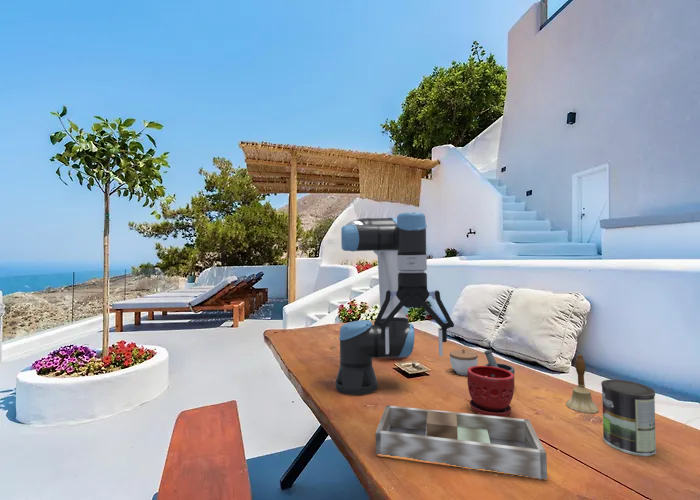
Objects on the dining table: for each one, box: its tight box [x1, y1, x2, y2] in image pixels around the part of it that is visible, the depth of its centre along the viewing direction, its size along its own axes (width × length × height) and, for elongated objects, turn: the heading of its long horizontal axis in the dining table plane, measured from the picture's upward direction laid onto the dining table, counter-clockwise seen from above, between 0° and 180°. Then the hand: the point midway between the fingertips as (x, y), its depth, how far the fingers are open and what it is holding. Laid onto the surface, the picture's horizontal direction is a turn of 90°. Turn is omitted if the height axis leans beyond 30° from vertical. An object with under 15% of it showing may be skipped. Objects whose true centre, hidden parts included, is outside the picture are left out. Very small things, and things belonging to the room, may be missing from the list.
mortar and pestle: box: [483, 349, 516, 378], centre depth 124 cm, size 11×9×12 cm
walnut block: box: [426, 411, 458, 440], centre depth 85 cm, size 7×7×4 cm
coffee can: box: [601, 379, 657, 457], centre depth 85 cm, size 10×10×14 cm
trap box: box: [375, 405, 548, 480], centre depth 84 cm, size 36×15×6 cm, turn 75°
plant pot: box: [466, 365, 515, 417], centre depth 104 cm, size 13×13×12 cm
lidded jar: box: [449, 348, 479, 376], centre depth 139 cm, size 11×11×9 cm
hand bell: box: [565, 354, 600, 414], centre depth 106 cm, size 8×8×16 cm
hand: (413, 353), depth 90 cm, fingers open, 13 cm apart
